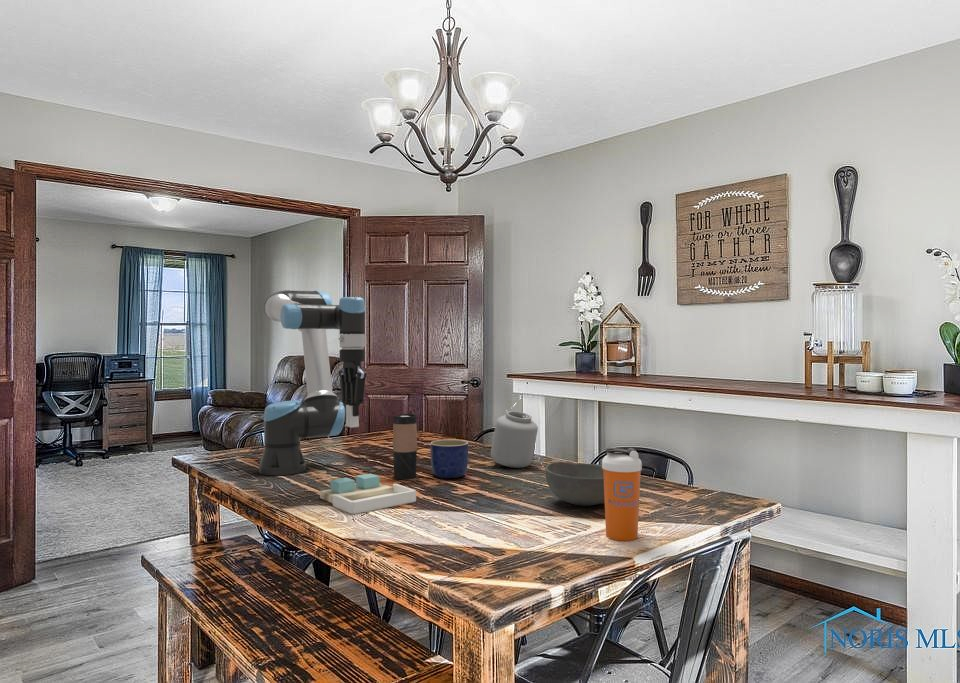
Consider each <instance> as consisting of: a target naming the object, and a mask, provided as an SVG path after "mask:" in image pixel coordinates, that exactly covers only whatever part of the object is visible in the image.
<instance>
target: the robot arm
mask: <svg viewBox="0 0 960 683" xmlns="http://www.w3.org/2000/svg"><path fill="white" fill-rule="evenodd" d="M338 301H339V302H338V303H339V304H334V303H333V301H332V298H331V296H330V295H329V294H328V293H327V292H325V291H318V290H287V289H286V290H279V291H276V292H274V293H272V294H269V295H268V296H267V297H266V299H265V300H264V302H263V312H264V314H265V315H266V317H267V318H268V319H270V320H271V321H274V322H278V323H281V326H282V328H283V329H285V330H298V331H300V332H301V339H302V349H303V358H304V370H305V380H306V391H307V395H306V397H305V398H304V399H303V403H302V404H301V401H300V400H299V399H297V400H296V399H295V400H294V399H293V400H285V401H284V400H283V401H278V402H274V403H273V402H272V403H270V404H268V405H267V406H266V407H265V408H264V415H263V422H264V423H263V425H264V427H263V428H264V429H263V430H264V431H263V432H264V435H263V436H264V438H263V439H264V442H263V443H264V450H263V452H262V455H261V458H260V461H259V465H258V473H259V474H261V475H264V476H265V475H266V476H286V475H288V476H289V475H295V474H300V473H303V472H305V471H306V470H307V468H306V467H307V464H306V460H305V457H304V454H303V450H302V448H301V439H311V438H323V437H326V438H327V437H332V436H333V437H334V436H338V435H340V433H341V432H342V430H343V428H344V425H345V424H346V426H345V427H347V428H359V426H360V422H359V421H360V420H359V419H360V411H359V410H360V405H361V404H364V394H365V384H366V377H367V371H363V370H362V362H365V360H366V351H365V349H364V348H365V347H366V330H365V326H366V325H365V324H366V322H365V321H366V308H365V307H366V306H365V299H364V298H363V297H359V296H345V297H344V296H343V297H341V298H340V299H339V300H338ZM327 330H339V333H338V334H339V338H338V341H339V348H341V349H339V351H338V352H339V353H338V354H339V362H341V363H343V366H342V369H339V370H338V375H339V381H340V383H339V384H340V391H341V401H338V399H339V398H338V395H337V394H335V393H334V392H333V384H332V376H331V366H330V356H329V348H328V338H327ZM344 404H345V405H344ZM344 423H345V424H344Z"/></svg>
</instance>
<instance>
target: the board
mask: <svg viewBox="0 0 960 683" xmlns="http://www.w3.org/2000/svg"><path fill="white" fill-rule="evenodd" d="M389 493H393V486H391V485H388V484H384V483H382V482H380V487H375V488H369V489H362V488H359V487H357V486H356V484H355V491H352V492H347V493H341V494H338V493H335V492H333V491H331V488H329V489H323V490H319V498H320V499H322V500H323V501H325V502H329V503H330V504H333V495H334V494H337V495H340V496H342V497H344V498H347V499H349V500H357V499H362V498H368V497H373V496H378V495H384V494H389Z"/></svg>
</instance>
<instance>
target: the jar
mask: <svg viewBox="0 0 960 683" xmlns="http://www.w3.org/2000/svg"><path fill="white" fill-rule="evenodd" d="M521 396H522V395H519V400H521V399H522V398H521ZM516 404H517V402H515V404H513V406H512V407H513V408H514V407H515V406H516ZM525 405H527V403H525ZM527 409H529V407H528V406H527ZM493 431H494V432H493V437H492V443H491V450H490V457H491V459H492V461H494V462H495V463H496V464H498V465H501V466H503V467H504V466H505V467H506V468H513V469H523V468H527V467H529V466H530V465H531V464H532V462H533V457H534V452H535V447H536V440H537V436H538V431H539V427H538V425H537V423H536V422H535V421H533V420H532V415H531V414H528V413H525V412H523V411H522V412H521V411H516V410H515V411H514V410H510V411H508V410H507V409H506V412H505V414H503V415H502V416H499V417H497V419H496V421H495V427H494V430H493ZM539 459H541V458H540V457H538V462H539V461H540V460H539ZM540 464H541V465H542V464H543V463H542V462H541V463H540ZM542 467H544V465H542Z"/></svg>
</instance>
